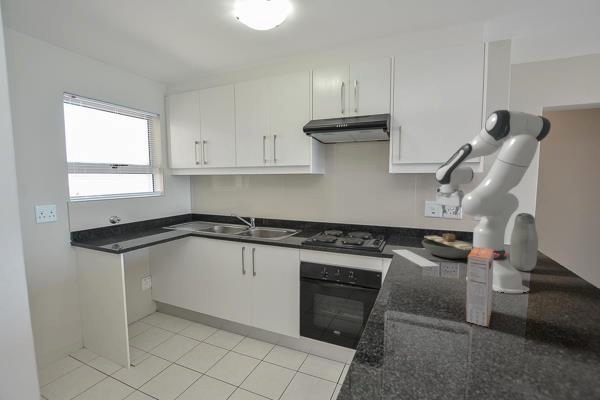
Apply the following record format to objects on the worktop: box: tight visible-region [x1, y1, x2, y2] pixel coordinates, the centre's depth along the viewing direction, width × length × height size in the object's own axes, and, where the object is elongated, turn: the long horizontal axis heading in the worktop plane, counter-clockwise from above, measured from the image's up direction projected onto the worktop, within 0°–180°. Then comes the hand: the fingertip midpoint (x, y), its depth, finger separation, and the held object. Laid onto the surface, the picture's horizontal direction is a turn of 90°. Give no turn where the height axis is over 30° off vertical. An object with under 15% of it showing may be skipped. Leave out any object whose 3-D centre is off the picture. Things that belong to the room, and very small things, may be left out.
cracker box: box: [465, 247, 494, 328], centre depth 85 cm, size 14×6×21 cm, turn 141°
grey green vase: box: [509, 212, 539, 272], centre depth 131 cm, size 10×10×28 cm
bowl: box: [421, 238, 473, 260], centre depth 156 cm, size 27×28×8 cm
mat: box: [391, 249, 440, 267], centre depth 154 cm, size 34×10×1 cm, turn 7°
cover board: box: [424, 233, 472, 250], centre depth 155 cm, size 33×8×5 cm, turn 10°
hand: (449, 213), depth 155 cm, fingers open, 8 cm apart
